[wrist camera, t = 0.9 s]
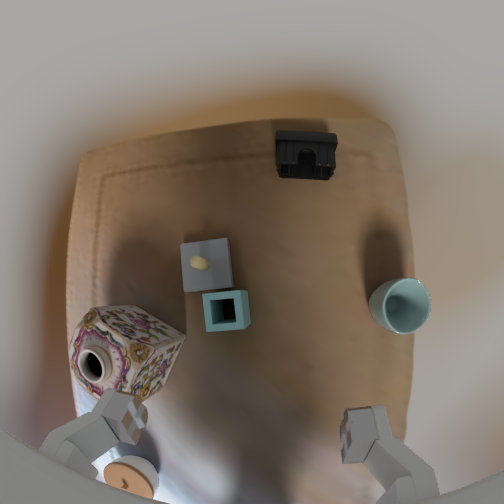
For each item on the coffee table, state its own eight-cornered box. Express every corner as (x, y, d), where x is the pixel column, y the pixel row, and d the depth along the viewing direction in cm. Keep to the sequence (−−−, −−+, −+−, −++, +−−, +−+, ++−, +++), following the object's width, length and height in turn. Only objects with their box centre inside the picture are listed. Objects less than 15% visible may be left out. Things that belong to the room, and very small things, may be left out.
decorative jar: (189, 335, 48) (140, 354, 30) (164, 389, 47) (113, 425, 29) (134, 302, 50) (70, 303, 32) (113, 355, 49) (50, 373, 31)
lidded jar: (112, 450, 46) (89, 468, 37) (150, 444, 46) (128, 465, 36) (137, 488, 44) (118, 509, 35) (175, 484, 44) (159, 508, 34)
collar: (251, 323, 47) (244, 328, 39) (218, 326, 48) (206, 332, 40) (247, 290, 48) (240, 289, 40) (215, 294, 48) (202, 293, 41)
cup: (355, 298, 46) (372, 299, 36) (390, 272, 46) (414, 266, 36) (377, 336, 44) (399, 345, 35) (412, 309, 44) (439, 311, 34)
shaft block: (233, 287, 48) (225, 286, 41) (187, 292, 49) (172, 291, 42) (228, 239, 50) (220, 231, 43) (183, 246, 50) (168, 238, 43)
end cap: (331, 146, 50) (336, 126, 43) (332, 181, 49) (339, 164, 43) (277, 143, 51) (276, 123, 45) (276, 177, 50) (274, 161, 44)
